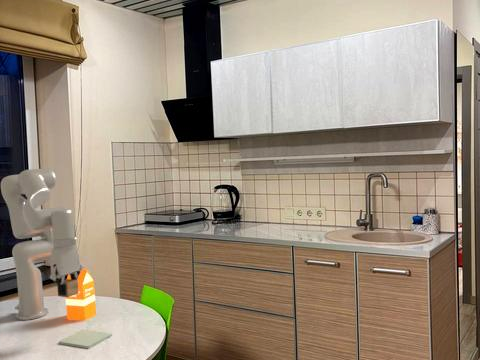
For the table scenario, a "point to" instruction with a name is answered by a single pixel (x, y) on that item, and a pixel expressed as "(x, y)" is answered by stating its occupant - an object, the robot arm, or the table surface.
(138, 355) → the table surface
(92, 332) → the sage board
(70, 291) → the walnut cube
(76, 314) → the orange juice
